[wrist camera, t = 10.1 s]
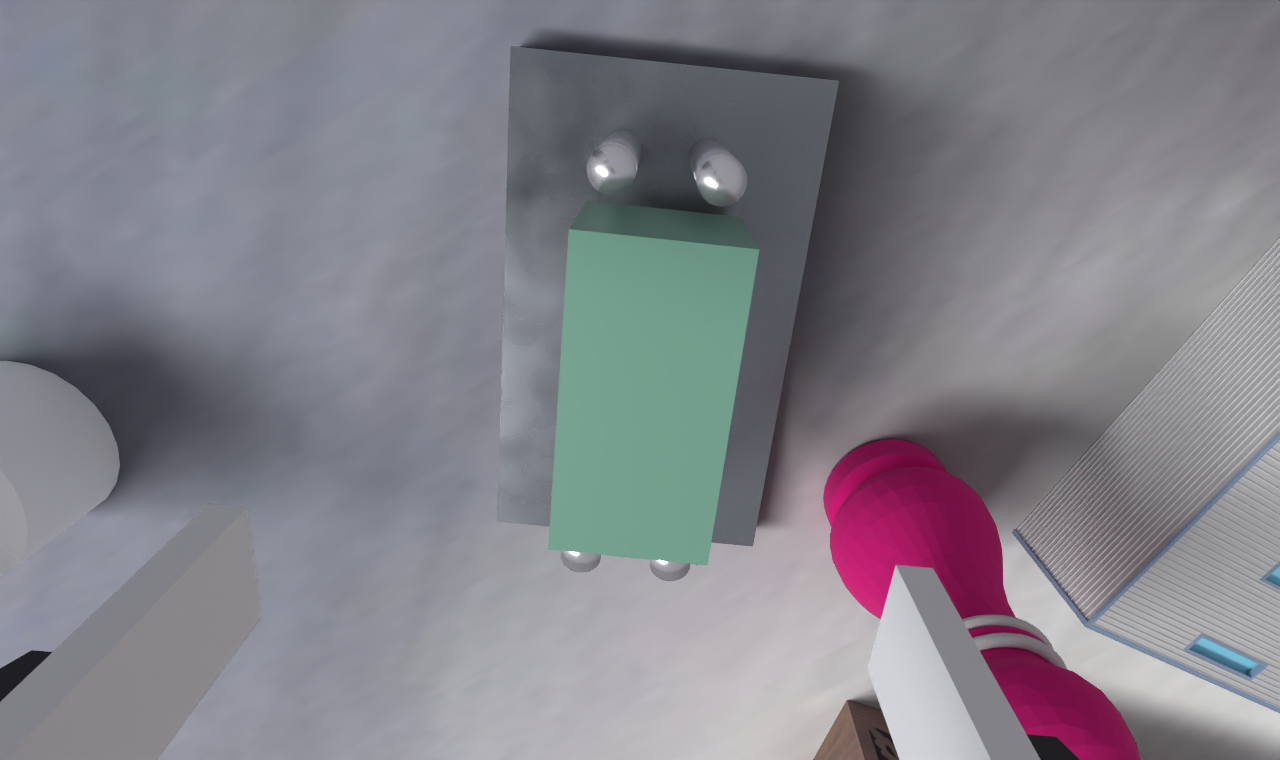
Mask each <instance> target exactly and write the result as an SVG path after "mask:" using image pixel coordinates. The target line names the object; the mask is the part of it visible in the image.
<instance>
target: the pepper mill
mask: <svg viewBox="0 0 1280 760" xmlns="http://www.w3.org/2000/svg"><path fill="white" fill-rule="evenodd" d="M823 499H824V508H825V511H826V515H827V517H828V520H829V522H830V525H831V527H832V528H831V533H830V549H831V554H832V559H833V562H834V564H835V567H836V569H837V571H838V573H839V575H840V577H841V579H842V581H843V583H844V585H845V586H846V588H847V589H848V590H849V592H850V593H851V594H852V595H853V596H854V597H855V599H856V600H857V601H858V602H859V603H860V604H861V605H862V606H863V607H864V608H865V609H867V610H868V611H869V612H870V613H872V614H873V615H875V616H876V617H878V618H879V619H881V617H882V613H883V610H884V606H885V602H886V599H887V595H888V591H889V588H890V584H891V580H892V577H893V573H894V569H895V566H896V565H903V566H914V567H925V568H933V569H934V571H935V573H936V574H937V576H938V578H939V580H940V581H941V583H942V585H943V587H944V589H945V590H946V592H947V594H948V596H949V597H950V599H951V601H952V603H953V605H954V606H955V608H956V610H957V612H958V613H959V615H960V617H961V619H962V621H963V622H964V624H965V626H966V628H967V629H968V631H969V633H970V635H971V637H972V638H973V640H974V642H975V644H976V645H977V647H978V649H979V651H980V653H981V654H982V656H983V658H984V660H985V662H986V663H987V665H988V667H989V669H990V670H991V672H992V674H993V676H994V678H995V679H996V681H997V683H998V685H999V686H1000V688H1001V690H1002V692H1003V694H1004V695H1005V697H1006V699H1007V701H1008V702H1009V704H1010V706H1011V708H1012V710H1013V711H1014V713H1015V715H1016V717H1017V718H1018V720H1019V722H1020V724H1021V726H1022V727H1023V729H1024V731H1025V733H1026V734H1030V735H1041V736H1053V737H1057V738H1058V739H1059V740H1060V741H1061V742H1062V743H1063V744H1064V745H1065V746H1066V747H1067V748H1068V749H1069V750H1071V751H1072V752H1073V753H1074V754H1075V755H1076V756H1077V757H1078V758H1079V759H1080V760H1140V756H1139V752H1138V748H1137V745H1136V742H1135V740H1134V738H1133V736H1132V735H1131V733H1130V731H1129V729H1128V727H1127V725H1126V723H1125V721H1124V720H1123V718H1122V716H1121V714H1120V713H1119V711H1118V710H1117V709H1116V708H1115V707H1114V705H1113V704H1112V703H1111V702H1110V701H1109V699H1108V698H1107V697H1106V696H1105V695H1104V693H1103V692H1102V691H1101V690H1099V689H1098V688H1097V687H1095V686H1094V685H1092V684H1091V683H1089V682H1088V681H1086V680H1085V679H1083V678H1082V677H1080V676H1079V675H1077V674H1076V673H1075V672H1072V671H1069V670H1067V668H1066V665H1065V664H1064V662H1063V660H1062V659H1061V657H1060V656H1059V655H1058V654H1057V653H1056V652H1055V651H1054V650H1053V648H1052V645H1051V643H1050V642H1049V640H1048V639H1047V638H1046V636H1045V635H1044V634H1043V633H1042V632H1041V631H1040V630H1039V629H1037V628H1036V627H1035V626H1033V625H1031V624H1029V623H1028V622H1026V621H1023V620H1021V619H1018V618H1016V617H1015V615H1014V613H1013V611H1012V610H1011V608H1010V606H1009V604H1008V601H1007V598H1006V594H1005V591H1004V587H1003V557H1002V547H1001V543H1000V539H999V535H998V531H997V527H996V524H995V522H994V521H993V519H992V517H991V515H990V513H989V511H988V509H987V508H986V506H985V504H984V502H983V501H982V499H981V498H980V497H979V496H978V494H977V493H976V492H975V491H974V490H973V489H972V488H971V487H969V486H968V485H967V484H966V483H965V482H963V481H962V480H961V479H959V478H957V477H955V476H953V475H951V474H949V473H948V472H947V471H946V470H945V468H944V467H943V465H942V464H941V463H940V461H939V460H938V459H937V458H936V457H935V456H934V455H933V454H932V453H931V452H930V451H928V450H927V449H925V448H924V447H922V446H920V445H918V444H915V443H912V442H908V441H904V440H881V441H876V442H871V443H868V444H865V445H863V446H861V447H859V448H857V449H855V450H853V451H852V452H850V453H849V454H848V455H846V456H845V457H844V458H843V459H842V460H841V461H840V462H839V463H838V464H837V465H836V466H835V467H834V469H833V470H832V472H831V474H830V475H829V477H828V480H827V483H826V485H825V489H824V497H823Z"/></svg>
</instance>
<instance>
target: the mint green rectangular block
mask: <svg viewBox="0 0 1280 760" xmlns="http://www.w3.org/2000/svg"><path fill="white" fill-rule="evenodd" d="M758 255H759V248H758V246H757V245H756V243H755V241H754V240H753V238H752V236H751V234H750V233H749V231H748V229H747V228H746V226H745V224H744V223H743V221H742V219H741V218H740V217H735V216H726V215H717V214H707V213H698V212H689V211H679V210H670V209H661V208H651V207H642V206H633V205H623V204H614V203H605V202H596V201H586V203H585V204H584V206H583V208H582V209H581V211H580V212H579V214H578V215H577V217H576V219H575V220H574V222H573V223H572V225H571V227H570V228H569V234H568V250H567V265H566V281H565V296H564V312H563V327H562V343H561V359H560V374H559V390H558V405H557V421H556V436H555V452H554V467H553V483H552V498H551V514H550V529H549V545H548V549H551V550H561V551H571V552H581V553H590V554H600V555H610V556H620V557H630V558H640V559H650V560H660V561H670V562H680V563H690V564H700V565H708V559H709V553H710V547H711V541H712V534H713V528H714V522H715V516H716V510H717V504H718V498H719V492H720V486H721V480H722V474H723V468H724V462H725V456H726V449H727V443H728V437H729V431H730V425H731V419H732V413H733V407H734V401H735V395H736V389H737V383H738V377H739V370H740V364H741V358H742V352H743V346H744V340H745V334H746V328H747V322H748V316H749V310H750V304H751V298H752V292H753V285H754V279H755V273H756V267H757V261H758Z"/></svg>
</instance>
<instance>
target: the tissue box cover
mask: <svg viewBox="0 0 1280 760" xmlns="http://www.w3.org/2000/svg"><path fill="white" fill-rule="evenodd" d="M813 760H899V757H898V754H897V751H896V749H895V746H894V743H893V740H892V737H891V734H890V732H889V729H888V726H887V723H886V720H885V718H884V715H883V712H882V710H880V709H877V708H873V707H869V706H866V705H862V704H858V703H855V702H851V701H846V703H845V705H844V706H843V708H842V710H841V712H840V713H839V715H838V717H837V719H836V720H835V722H834V724H833V726H832V727H831V729H830V731H829V733H828V735H827V736H826V738H825V740H824V742H823V743H822V745H821V747H820V749H819V750H818V752H817V754H816V756H815V758H814V759H813Z"/></svg>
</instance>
